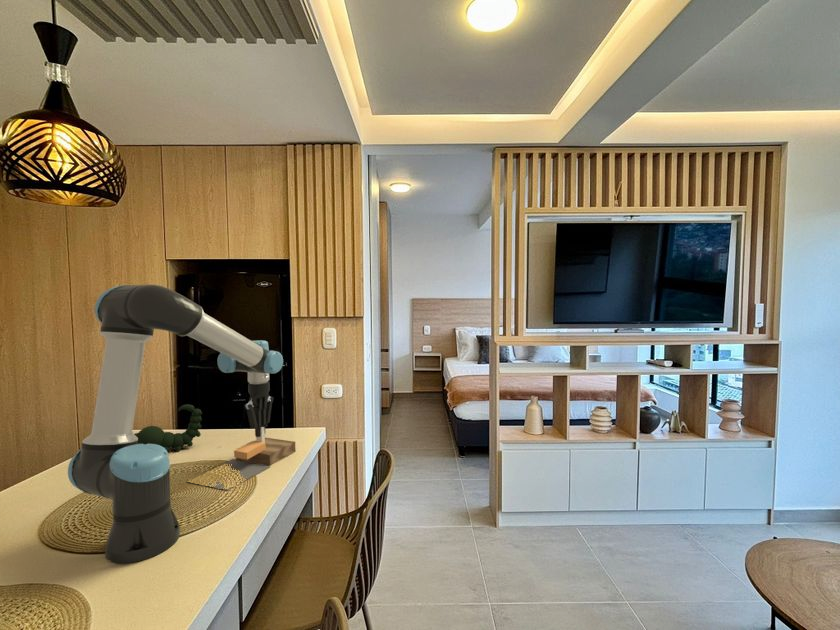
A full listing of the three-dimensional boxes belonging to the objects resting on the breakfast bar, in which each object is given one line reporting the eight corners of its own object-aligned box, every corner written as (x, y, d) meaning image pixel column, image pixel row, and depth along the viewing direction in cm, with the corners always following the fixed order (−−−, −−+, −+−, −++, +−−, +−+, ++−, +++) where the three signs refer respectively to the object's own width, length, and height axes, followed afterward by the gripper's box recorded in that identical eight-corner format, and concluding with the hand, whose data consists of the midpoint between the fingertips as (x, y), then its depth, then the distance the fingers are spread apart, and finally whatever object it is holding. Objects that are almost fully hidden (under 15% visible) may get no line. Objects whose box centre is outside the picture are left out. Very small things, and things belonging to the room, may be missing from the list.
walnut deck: (270, 465, 146) (269, 454, 146) (236, 459, 152) (235, 449, 152) (295, 451, 159) (295, 441, 159) (263, 446, 165) (263, 437, 165)
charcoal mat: (227, 491, 127) (227, 490, 127) (185, 482, 134) (185, 481, 134) (270, 467, 145) (270, 466, 145) (232, 460, 151) (231, 459, 151)
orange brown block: (247, 459, 143) (246, 452, 142) (234, 457, 145) (233, 450, 144) (265, 449, 151) (265, 442, 151) (253, 447, 153) (252, 440, 153)
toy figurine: (198, 446, 172) (125, 454, 157) (201, 401, 172) (128, 405, 158) (200, 452, 164) (124, 462, 150) (203, 405, 164) (127, 410, 150)
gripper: (253, 386, 144) (255, 451, 145) (279, 379, 156) (280, 439, 157) (237, 384, 147) (239, 449, 148) (263, 378, 159) (265, 437, 160)
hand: (260, 444), depth 153 cm, fingers closed
